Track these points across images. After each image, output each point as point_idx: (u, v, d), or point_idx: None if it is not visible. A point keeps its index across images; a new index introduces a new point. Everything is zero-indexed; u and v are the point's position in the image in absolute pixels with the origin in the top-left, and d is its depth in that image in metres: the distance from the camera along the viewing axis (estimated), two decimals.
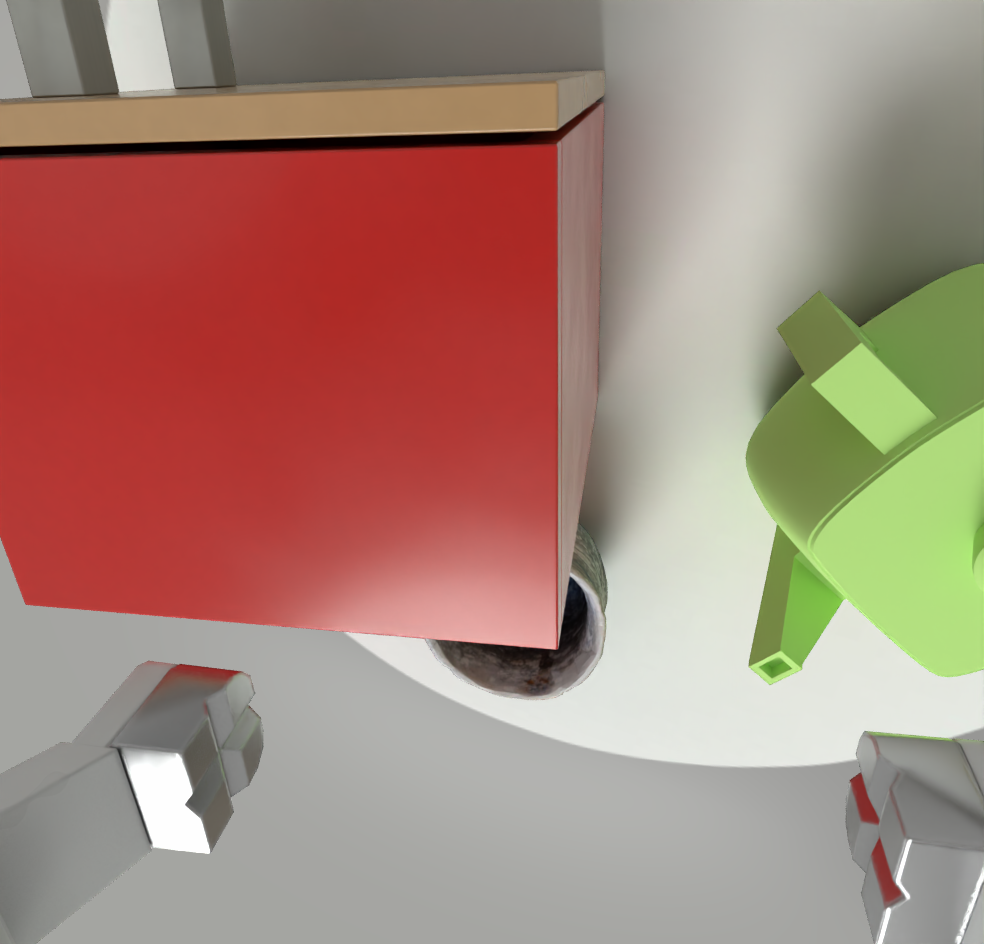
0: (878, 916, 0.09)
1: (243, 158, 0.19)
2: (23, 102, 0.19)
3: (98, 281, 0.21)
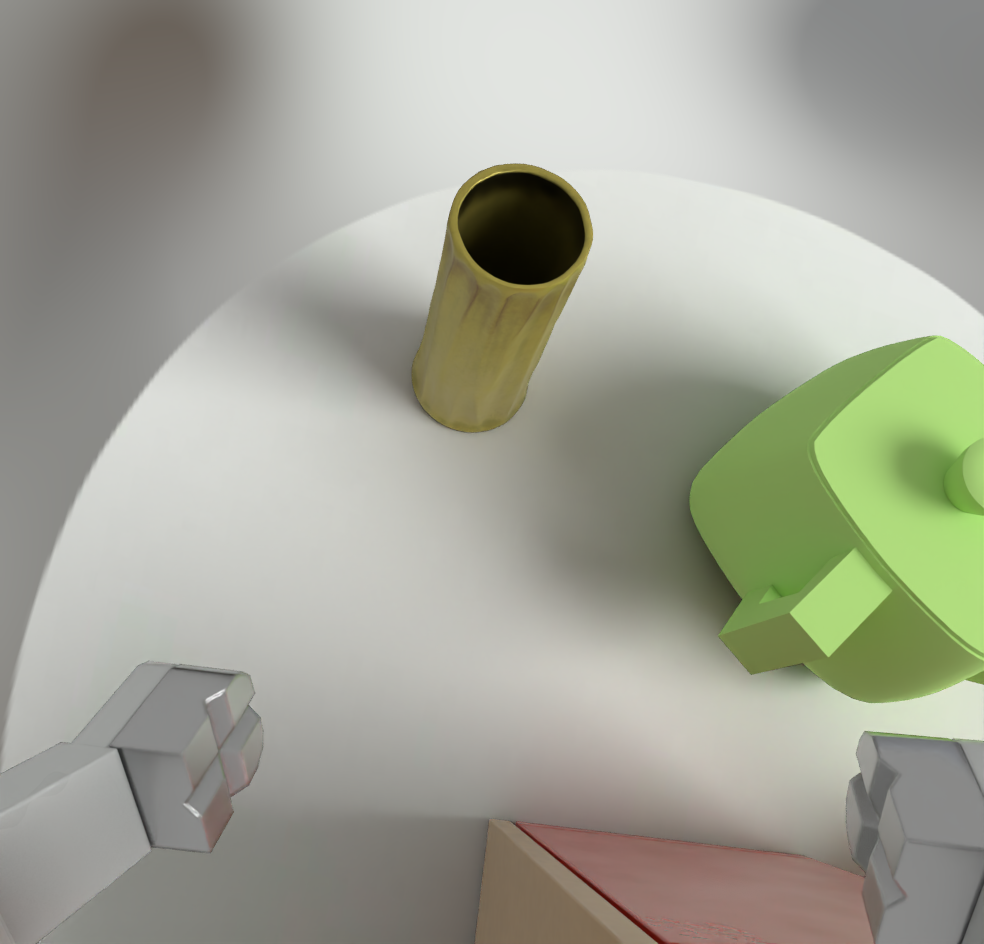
0: (877, 916, 0.09)
1: None
2: None
3: None
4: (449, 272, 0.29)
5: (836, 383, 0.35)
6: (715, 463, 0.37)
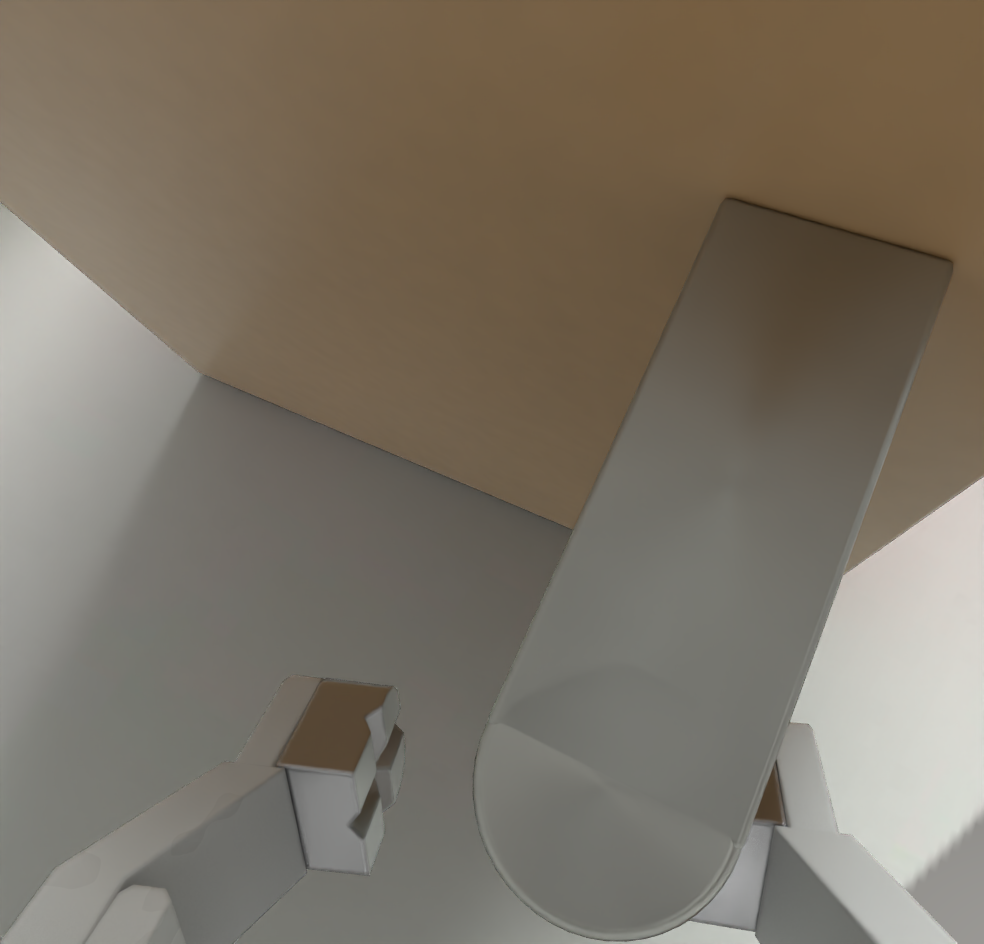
0: None
1: None
2: None
3: None
4: None
5: None
6: None
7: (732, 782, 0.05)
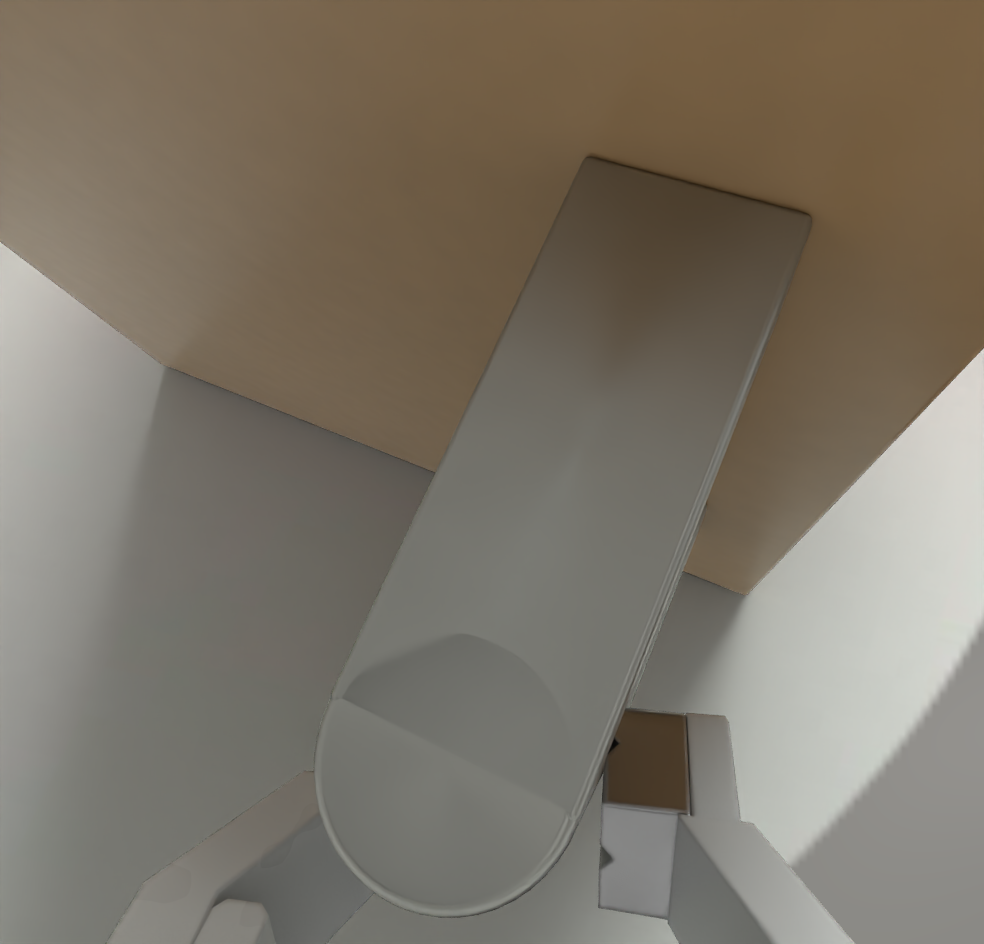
0: None
1: None
2: None
3: None
4: None
5: None
6: None
7: (569, 753, 0.05)
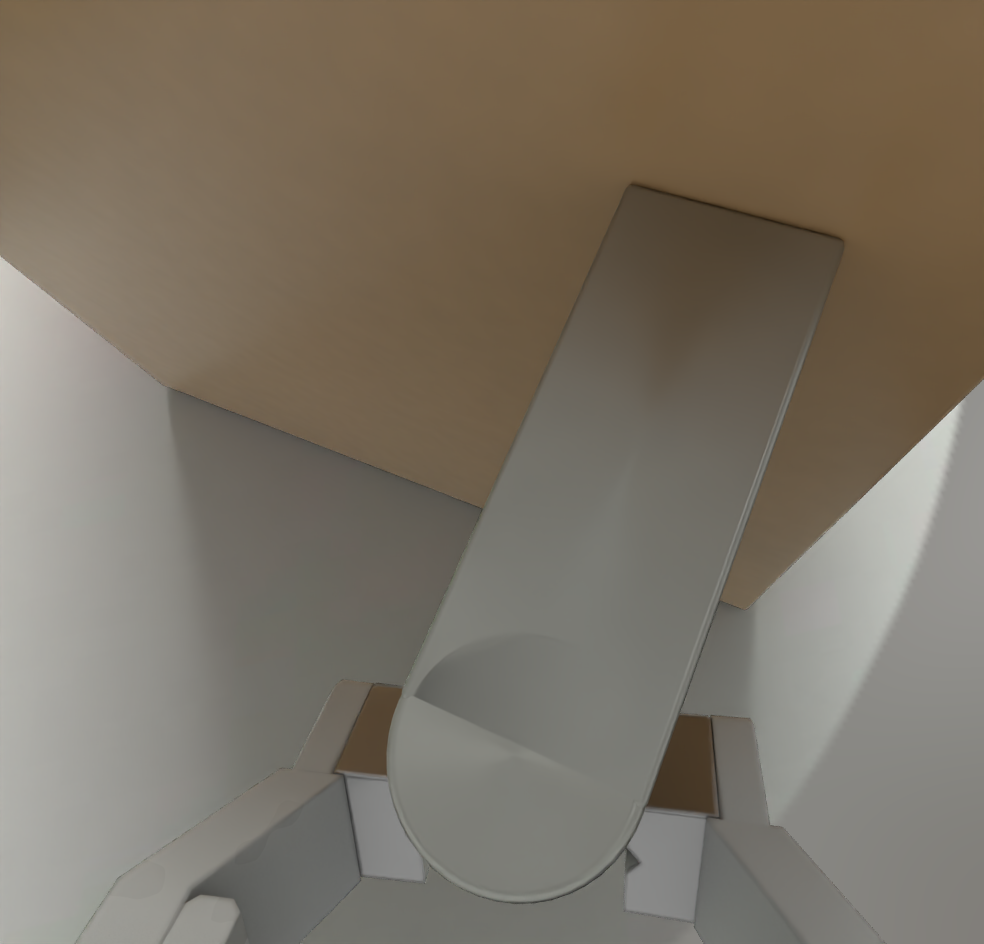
0: (624, 883, 0.09)
1: None
2: None
3: None
4: None
5: None
6: None
7: (634, 744, 0.05)
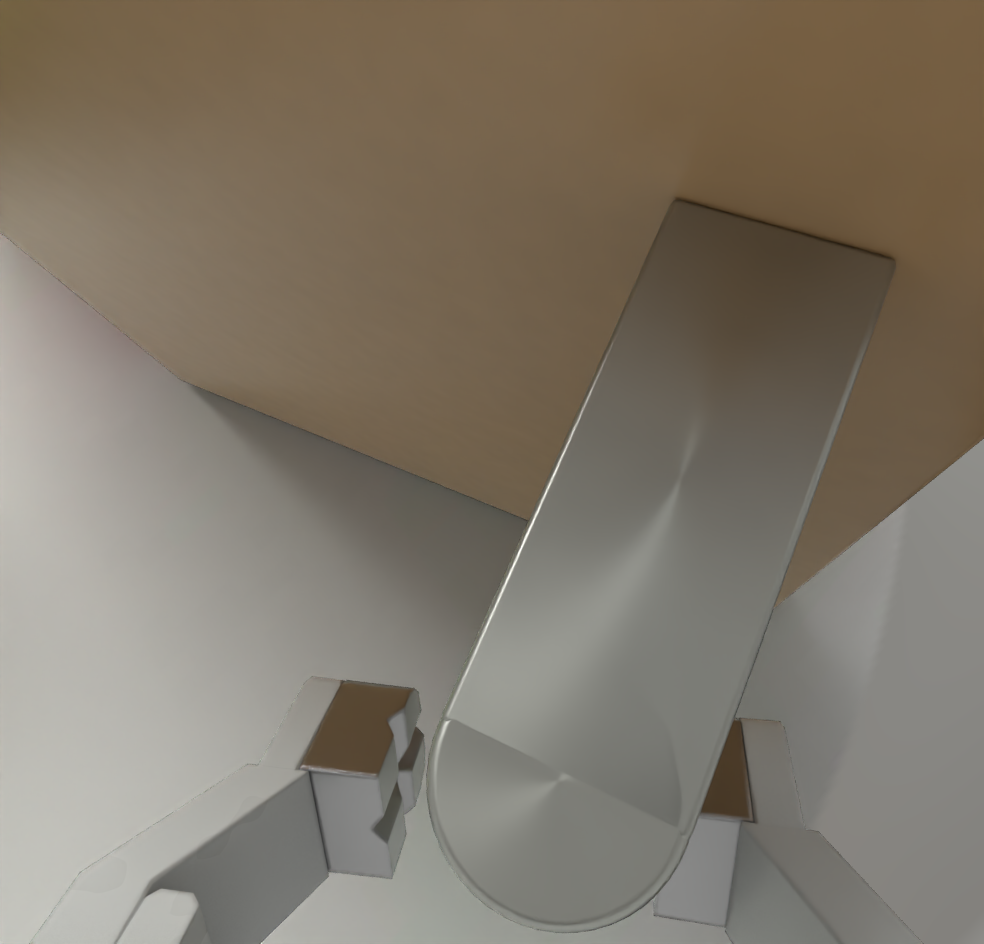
0: None
1: None
2: None
3: None
4: None
5: None
6: None
7: (679, 773, 0.05)
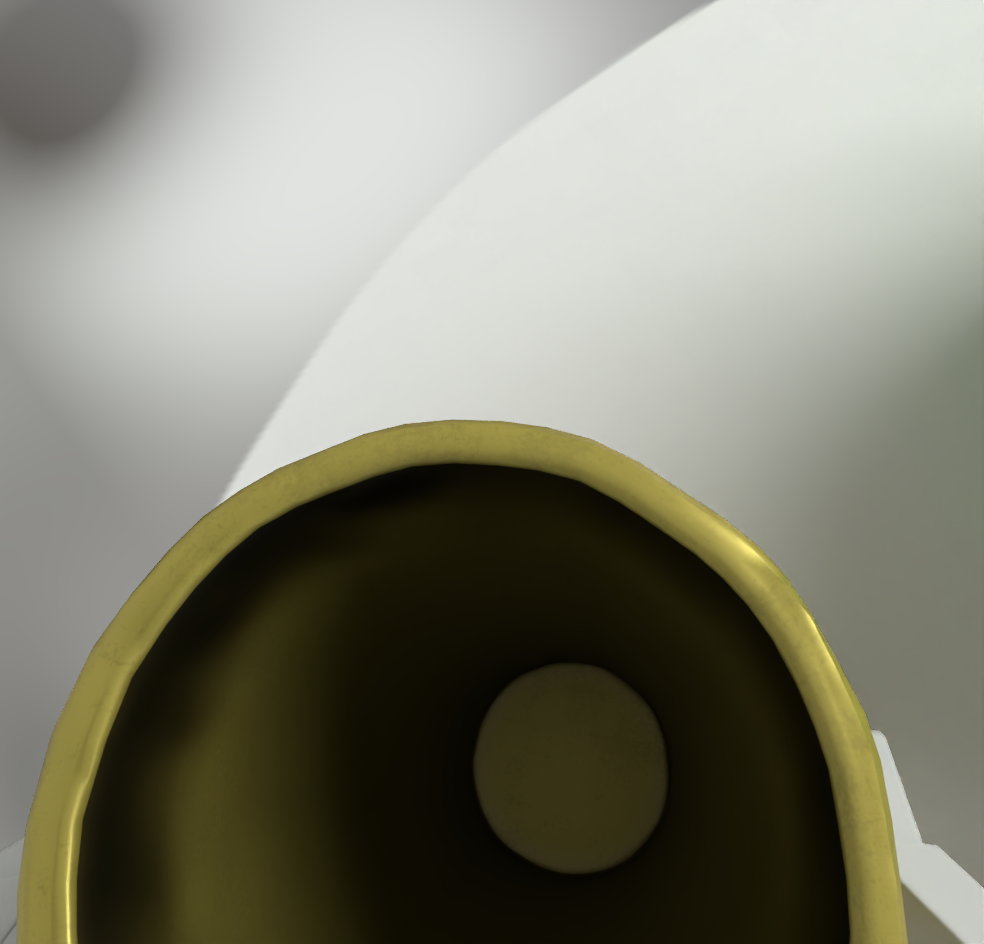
0: None
1: None
2: None
3: None
4: None
5: None
6: None
7: None
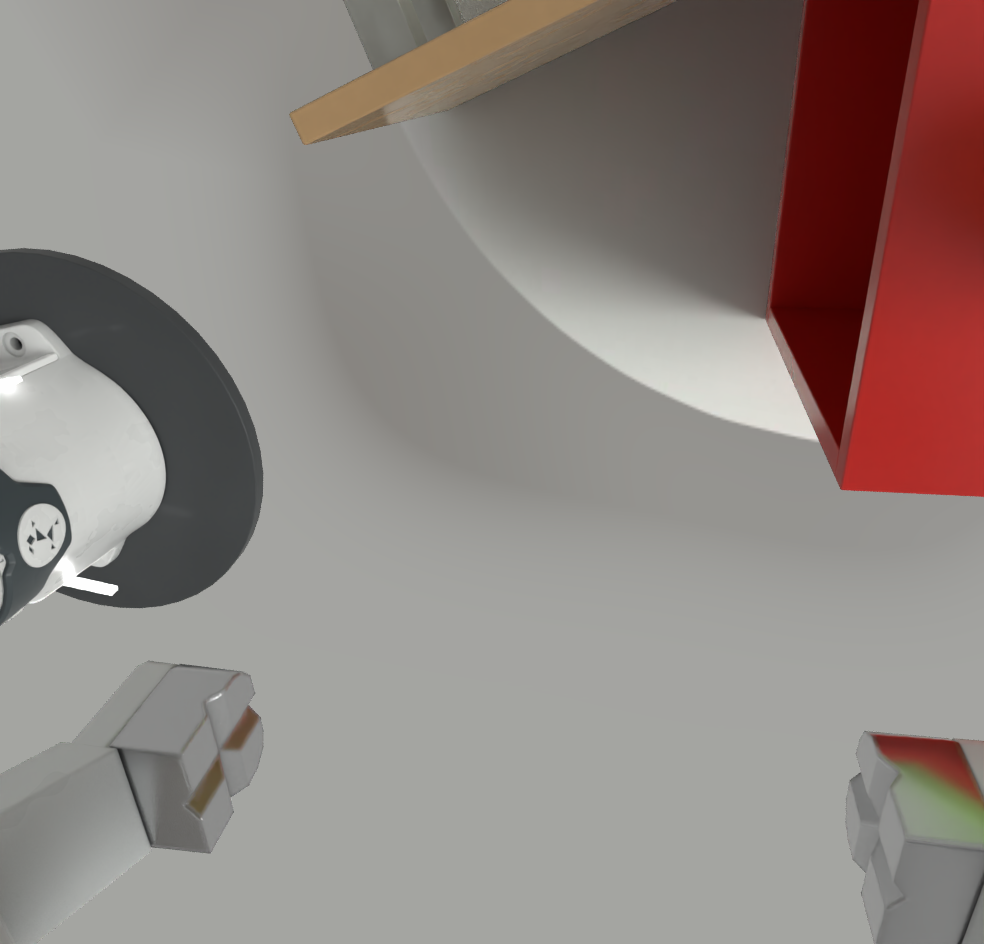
0: (877, 915, 0.09)
1: (907, 149, 0.22)
2: (434, 39, 0.23)
3: (983, 316, 0.23)
4: None
5: None
6: None
7: None
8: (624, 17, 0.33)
